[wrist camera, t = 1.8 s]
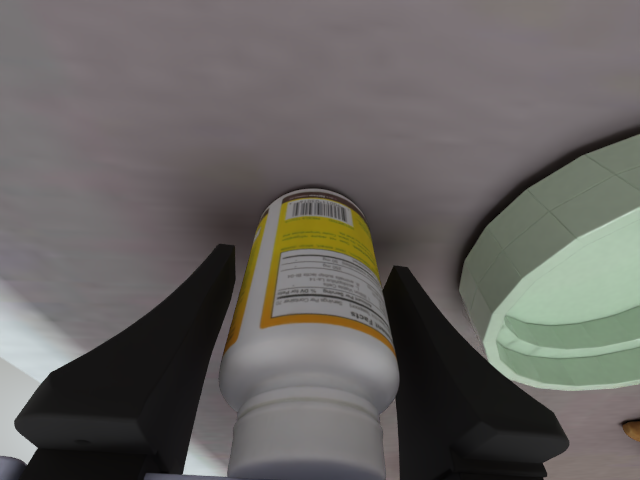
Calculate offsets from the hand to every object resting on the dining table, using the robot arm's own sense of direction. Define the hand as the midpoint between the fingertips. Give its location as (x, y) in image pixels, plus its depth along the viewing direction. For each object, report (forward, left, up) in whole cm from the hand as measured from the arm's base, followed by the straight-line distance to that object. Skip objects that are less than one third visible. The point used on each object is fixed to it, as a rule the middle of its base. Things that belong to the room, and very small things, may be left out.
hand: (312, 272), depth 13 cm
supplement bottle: (0, 0, -3) cm, 3 cm away
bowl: (+1, -15, -3) cm, 15 cm away
